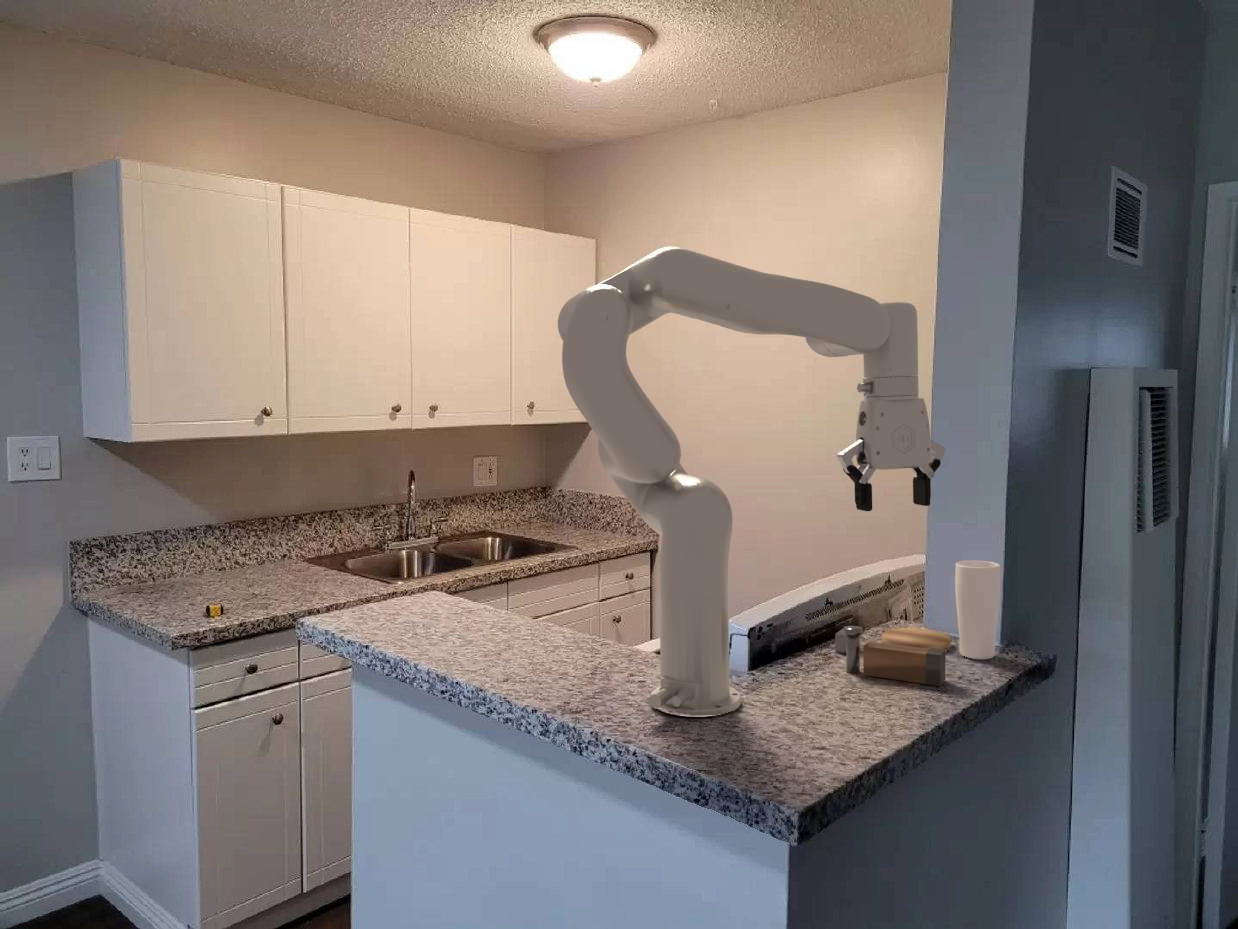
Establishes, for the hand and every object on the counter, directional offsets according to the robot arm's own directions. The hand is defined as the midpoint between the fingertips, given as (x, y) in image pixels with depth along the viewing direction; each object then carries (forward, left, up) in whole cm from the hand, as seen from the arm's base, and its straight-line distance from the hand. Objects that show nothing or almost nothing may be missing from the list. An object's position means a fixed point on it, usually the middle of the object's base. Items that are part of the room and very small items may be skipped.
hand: (893, 507), depth 130 cm
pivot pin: (+2, +7, -26) cm, 27 cm away
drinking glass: (+19, -8, -26) cm, 33 cm away
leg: (+2, -1, -26) cm, 26 cm away
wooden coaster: (+21, +2, -26) cm, 33 cm away
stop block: (+13, +11, -26) cm, 31 cm away
